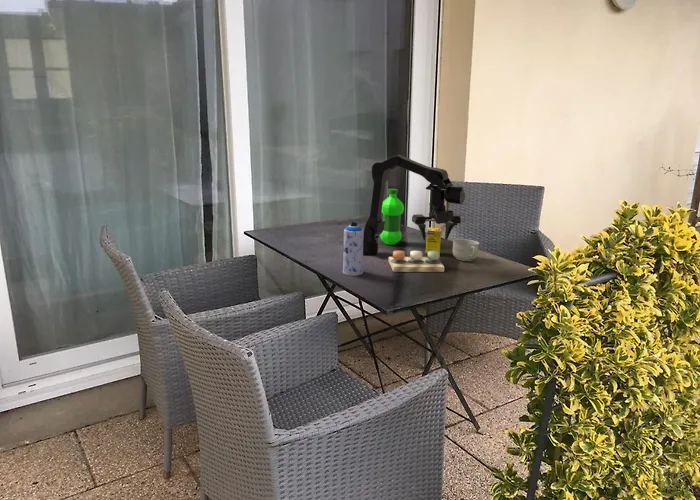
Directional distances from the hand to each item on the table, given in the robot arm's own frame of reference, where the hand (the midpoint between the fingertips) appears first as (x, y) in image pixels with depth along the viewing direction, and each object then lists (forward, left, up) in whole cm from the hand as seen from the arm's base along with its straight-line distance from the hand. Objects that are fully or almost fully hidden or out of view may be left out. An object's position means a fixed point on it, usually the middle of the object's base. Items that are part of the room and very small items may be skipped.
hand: (435, 239), depth 241 cm
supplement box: (+3, +17, -11) cm, 21 cm away
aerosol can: (-34, -10, -11) cm, 37 cm away
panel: (-8, -2, -11) cm, 13 cm away
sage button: (-1, -2, -7) cm, 7 cm away
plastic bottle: (-13, +34, -11) cm, 38 cm away
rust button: (-15, -2, -7) cm, 16 cm away
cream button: (-8, -2, -7) cm, 11 cm away
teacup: (+15, +7, -11) cm, 20 cm away
